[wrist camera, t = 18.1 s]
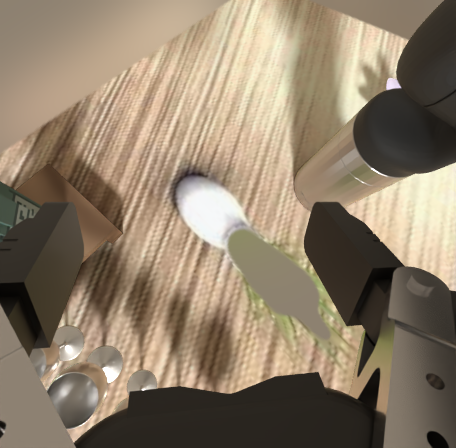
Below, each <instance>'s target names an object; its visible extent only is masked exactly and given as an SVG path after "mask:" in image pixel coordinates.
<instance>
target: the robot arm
mask: <svg viewBox="0 0 456 448" xmlns="http://www.w3.org/2000/svg"><path fill="white" fill-rule="evenodd" d="M396 74H397V81H398V83H399V85H400V87H401V88H394V89H390V90H386V91H384V92H382V93H380V94H378V95H377V96H375V97H374V98H373V99H371V100H370V101H369V102H368V103H367V104H366V105H365V106H364V107H363V108H362V109H361V110H360V111H359V112H358V113H357V114H356V115H355V116H354V117H353V118H352V119H351V120H350V121H349V122H348V123H347V124H346V125H345V126H344V127H343V128H342V129H341V130H340V131H338V132H337V133H336V134H335V135H334V136H333V137H332V138H331V139H330V140H329V141H328V142H327V143H326V144H325V145H324V146H323V147H322V148H321V149H320V150H319V151H318V152H317V153H316V154H315V155H314V156H312V157H311V158H310V159H309V160H308V161H307V162H306V163H305V164H304V165H303V166H302V167H301V168H300V169H299V171H298V172H297V174H296V177H295V181H294V188H295V193H296V196H297V198H298V199H299V201H300V203H301V204H302V205H303V206H304V207H305V208H307V209H308V210H310V211H311V214H310V218H309V222H308V226H307V229H306V233H305V237H304V249H305V253H306V255H307V257H308V258H309V260H310V262H311V264H312V266H313V267H314V269H315V271H316V273H317V274H318V276H319V278H320V280H321V282H322V283H323V285H324V287H325V289H326V290H327V292H328V294H329V296H330V298H331V299H332V301H333V303H334V305H335V306H336V308H337V310H338V312H339V314H340V315H341V317H342V319H343V321H344V322H345V324H346V326H354V325H362V326H363V327H364V329H365V330H364V332H363V334H362V336H361V340H360V345H359V350H358V355H357V360H356V365H355V369H354V374H353V379H352V384H351V388H350V391H349V394H345V393H343V392H340V391H337V390H334V389H330V388H326V387H324V385H323V382H322V380H321V378H320V375H319V373H318V372H315V373H305V374H295V375H285V376H276V377H273V378H271V379H268V380H266V381H263V382H261V383H258V384H256V385H253V386H251V387H248V388H246V389H243V390H241V391H238V392H236V393H232V394H225V393H219V392H212V391H206V390H200V389H193V388H187V387H181V386H178V387H168V388H158V389H149V390H139V391H130V392H129V401H128V408H126V409H123V410H121V411H118V412H116V413H114V414H112V415H110V416H108V417H107V418H105V419H103V420H102V421H100V422H99V423H97V424H96V425H94V426H93V427H92V428H90V429H89V430H88V431H87V432H85V433H84V434H83V435H82V436H81V437H80V438H79V439H78V440H76V441H75V442H74V443H73V441H72V439H71V437H70V435H69V433H68V432H67V430H66V428H65V426H64V424H63V422H62V420H61V418H60V416H59V414H58V412H57V410H56V408H55V407H54V405H53V403H52V401H51V399H50V397H49V395H48V393H47V391H46V389H45V387H44V385H43V384H42V382H41V380H40V378H39V376H38V374H37V372H36V370H35V368H34V366H33V364H32V362H31V361H30V359H29V357H30V355H31V352H32V350H33V349H39V348H50V346H51V344H52V341H53V338H54V336H55V333H56V330H57V328H58V325H59V322H60V320H61V317H62V314H63V312H64V309H65V306H66V304H67V301H68V298H69V296H70V293H71V290H72V288H73V285H74V283H75V280H76V277H77V275H78V272H79V269H80V267H81V264H82V261H83V257H84V242H83V238H82V233H81V229H80V224H79V220H78V215H77V211H76V207H75V205H74V203H73V202H45V203H44V204H43V205H42V206H41V208H40V209H39V211H38V212H37V213H36V215H35V216H34V218H26V219H24V220H23V221H21V222H20V223H18V224H17V225H15V226H13V227H12V228H11V229H10V230H9V232H8V233H7V234H6V235H5V237H4V238H3V239H2V240H3V241H2V242H0V448H456V291H450V290H449V288H448V287H447V286H446V284H445V283H444V282H443V281H441V280H440V279H439V278H437V277H436V276H434V275H433V274H431V273H429V272H427V271H424V270H422V269H419V268H415V267H405V266H404V265H403V264H402V263H401V262H400V261H399V260H398V258H397V257H396V256H395V255H394V254H393V253H392V252H391V251H390V250H389V249H388V248H387V247H386V246H385V245H384V243H383V242H380V239H379V238H378V237H377V236H376V235H375V234H373V232H372V231H371V230H370V228H369V227H368V226H367V225H366V224H365V223H364V222H362V221H360V220H359V219H357V218H356V217H354V216H352V215H350V214H349V213H348V212H347V211H346V210H345V208H344V207H346V206H348V205H350V204H352V203H354V202H357V201H359V200H361V199H363V198H365V197H367V196H369V195H371V194H373V193H376V192H378V191H380V190H382V189H384V188H386V187H388V186H390V185H392V184H394V183H396V182H398V181H400V180H403V179H405V178H407V177H409V176H411V175H413V174H415V173H416V174H421V173H428V172H432V171H435V170H438V169H440V168H443V167H445V166H448V165H450V164H453V163H455V162H456V0H444V1H443V2H442V3H441V4H440V5H439V6H438V7H437V8H436V9H435V10H434V11H433V12H432V13H431V14H430V15H429V17H428V18H427V19H426V20H425V21H424V22H423V23H422V24H421V26H420V27H419V28H418V29H417V30H416V32H415V33H414V35H413V36H412V37H411V39H410V40H409V41H408V43H407V45H406V46H405V48H404V50H403V52H402V54H401V56H400V59H399V61H398V65H397V71H396Z"/></svg>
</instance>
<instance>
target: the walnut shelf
mask: <svg viewBox="0 0 456 448" xmlns="http://www.w3.org/2000/svg"><path fill="white" fill-rule="evenodd" d="M16 191H17V192H19V193H21V194H22V195H24V196H26V197H28V198H29V199H31V200H33V201H34V202H36V203H38V204H39V205H41V206H42V205H43V204H44V203H45V202H73V203H74V205H75V207H76V211H77V215H78V220H79V224H80V229H81V233H82V238H83V242H84V257H83V261H82V263H83V262H84V261H85V260H86V259H87V258H88V257H89V256H90V255H91V254H93V253H94V252H95V251H96V250H97V249H98V248H99V247H100V246H101V245H102V244H103V243H104V242H105V241H106V240H107V241H109V242H110V243H112V244H113V243H114V242H115V241H116V240H117V239H118V238H119V237H120V236H121V235H122V234H123V233H122V232H121V231H119V230H118V229H117V228H116V227H115V226H114V225H113V224H112V223H111V222H110V221H109V220H108V219H107V218H106V217H105V216H104V215H103V214H102V213H100V212H99V211H98V210H97V209H96V208H95V207H94V206H93V205H92V204H91V203H90V202H89V201H88V200H87V199H86V198H85V197H83V196H82V195H81V194H80V193H79V192H78V191H77V190H76V189H75V188H74V187H73V186H72V185H71V184H70V183H69V182H68V181H66V180H65V179H64V178H63V177H62V176H61V175H60V174H59V173H58V172H57V171H56V170H55V169H54V168H53V167H52V166H51V165H50V164H47V165H46V166H45V167H44V168H42V169H41V170H40V171H39V172H37V173H36V174H35V175H34V176H32V177H31V178H30V179H29V180H27V181H26V182H25V183H24V184H22V185H21V186H20V187H19V188H18V189H16Z"/></svg>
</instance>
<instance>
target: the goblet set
mask: <svg viewBox="0 0 456 448" xmlns="http://www.w3.org/2000/svg"><path fill="white" fill-rule="evenodd" d="M83 347H84V336H83V333H82V332H81V331H80V330H79V329H78V328H76V327H74V326H63V327H60V328H59V329H57V330H56V333H55V336H54V338H53V341H52V344H51V346H50V348H39V349H33V350H32V352H31V355H30V357H29V359H30V361H31V362H32V364H33V366H34V368H35V370H36V372H37V374H38V376H39V378H40V380H41V382H44V381H45V380H46V379H47V378H49V377H50V376H51V374H52V373H53V372H54V371H55V369H56V367H57V366H58V363H59V360H60V361H69V360H72V359H74V358H75V357H77V356H78V355H79V354H80V353H81V351H82V349H83ZM122 367H123V358H122V355H121V353H120V352H119V351H118V350H117V349H116V348H114V347H111V346H102V347H99V348H97V349H95V350H94V351H93V352H92V353H91V354H90V355H89V357H88V359H87V362H81V363H77V364H74V365H71V366H69V367H67V368H66V369H64V370H63V371H62V372H60V373H59V374H58V375H57V376H56V377H55V379H54V380H53V381H52V382H51V384H50V385H49V387H48V388H47V390H46V391H47V393H48V395H49V397H50V399H51V401H52V403H53V405H54V407H55V408H56V410H57V412H58V414H59V416H60V418H61V420H62V422H63V424H64V426H65V428H66V429H73V428H76V427H79V426H81V425H82V424H84V423H85V422H87V421H88V420H89V419H91V418H92V417H93V416H94V415H95V414H96V413H97V412H98V410H99V409H100V408H101V406H102V404H103V402H104V400H105V398H106V395H107V390H108V383H109V382H111V381H113V380H114V379H116V378H117V377H118V375H119V374H120V372H121V370H122ZM149 389H157V379H156V377H155V375H154V374H153V373H152V372H150V371H148V370H139V371H137V372H135V373H134V374H132V376H131V377H130V378H129V380H128V383H127V392H128V395H129V392H130V391H139V390H149ZM128 401H129V397H128V398H126V399H124V400H123V401H121V402H120V403H119V404H118V405H117V406H116V408H115V409H114V411H113V413H112V414H114V413H116V412H118V411H121V410H123V409H126V408H128Z"/></svg>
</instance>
